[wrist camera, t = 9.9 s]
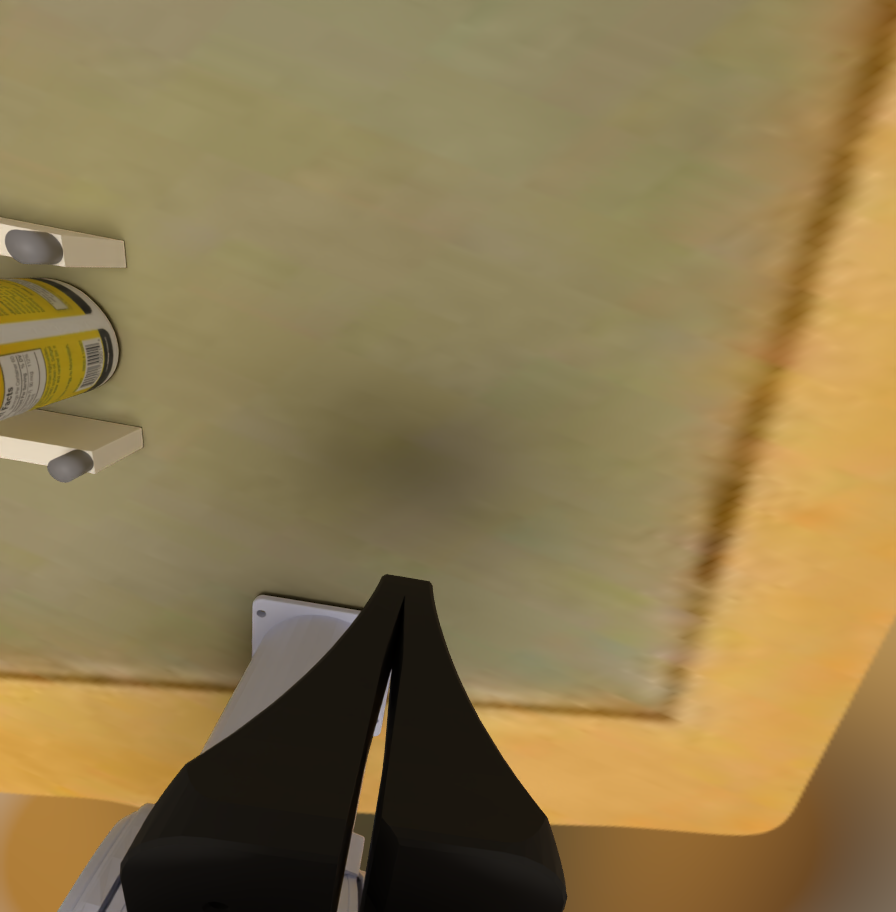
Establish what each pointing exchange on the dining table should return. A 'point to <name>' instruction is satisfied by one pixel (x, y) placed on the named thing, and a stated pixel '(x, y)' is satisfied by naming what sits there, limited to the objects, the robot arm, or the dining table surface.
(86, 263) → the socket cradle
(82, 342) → the supplement bottle
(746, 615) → the dining table surface
